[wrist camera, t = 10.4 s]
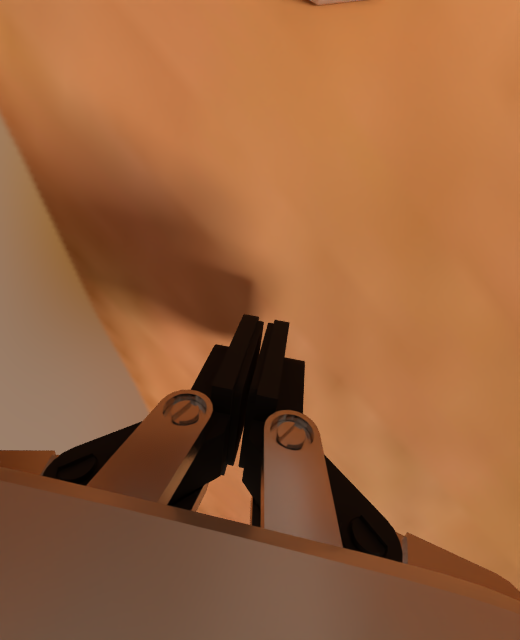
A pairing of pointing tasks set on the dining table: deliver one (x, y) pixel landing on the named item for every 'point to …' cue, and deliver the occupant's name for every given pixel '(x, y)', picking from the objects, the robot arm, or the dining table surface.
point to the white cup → (330, 1)
